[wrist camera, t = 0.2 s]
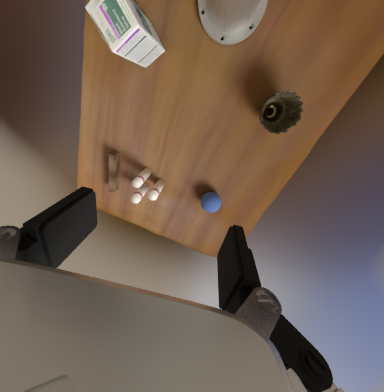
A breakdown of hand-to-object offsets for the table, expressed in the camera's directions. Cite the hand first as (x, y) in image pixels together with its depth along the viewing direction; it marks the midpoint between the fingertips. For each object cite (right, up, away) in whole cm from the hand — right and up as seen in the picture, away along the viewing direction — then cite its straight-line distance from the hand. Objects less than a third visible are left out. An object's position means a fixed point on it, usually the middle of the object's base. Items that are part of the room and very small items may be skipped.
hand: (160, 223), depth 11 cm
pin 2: (-12, +5, +41) cm, 43 cm away
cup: (+20, +22, +28) cm, 41 cm away
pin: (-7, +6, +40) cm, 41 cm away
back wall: (-21, +10, +39) cm, 45 cm away
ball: (+8, 0, +38) cm, 38 cm away
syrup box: (-7, +34, +24) cm, 42 cm away
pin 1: (-11, +9, +38) cm, 41 cm away
